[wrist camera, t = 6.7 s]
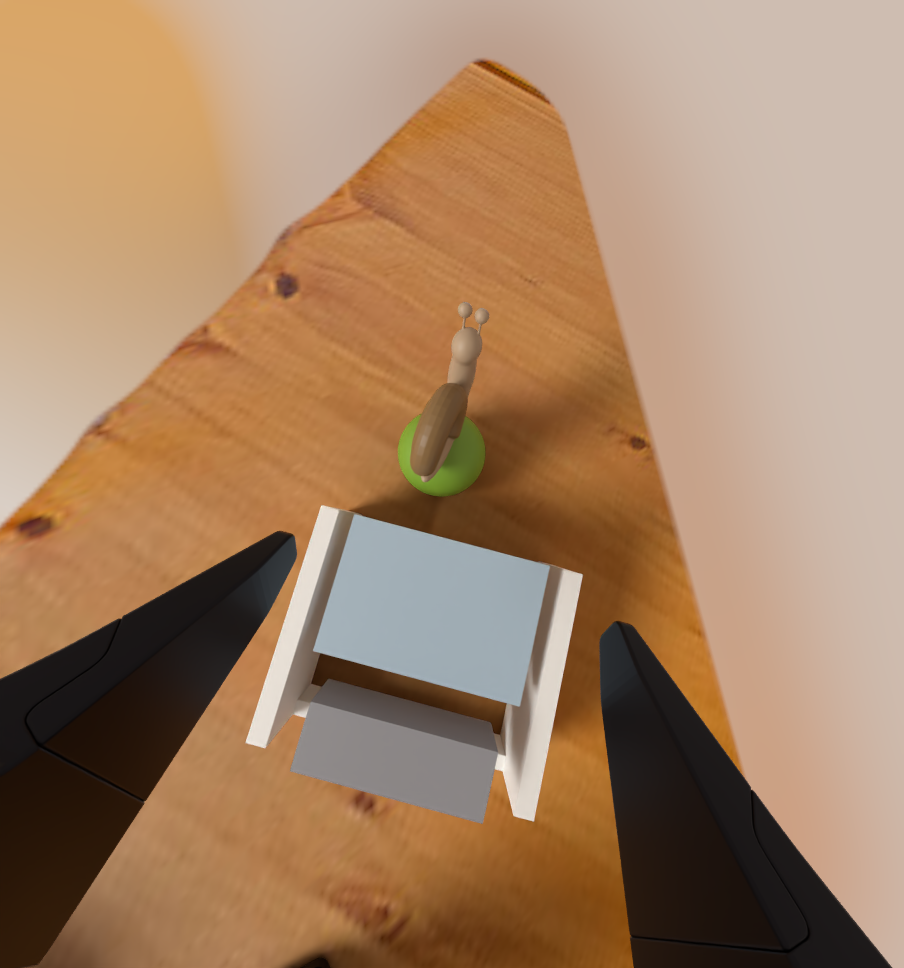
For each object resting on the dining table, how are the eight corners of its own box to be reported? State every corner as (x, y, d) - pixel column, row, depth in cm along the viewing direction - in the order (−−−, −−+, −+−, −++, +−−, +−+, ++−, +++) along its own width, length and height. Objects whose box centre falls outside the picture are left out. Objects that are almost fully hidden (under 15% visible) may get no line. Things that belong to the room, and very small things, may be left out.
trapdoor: (541, 563, 19) (555, 567, 16) (492, 787, 17) (499, 828, 15) (361, 515, 19) (350, 513, 17) (296, 733, 17) (272, 766, 15)
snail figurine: (495, 428, 24) (547, 327, 12) (464, 511, 23) (487, 491, 11) (425, 402, 24) (407, 276, 12) (391, 484, 23) (337, 435, 11)
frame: (552, 564, 23) (582, 574, 18) (512, 752, 21) (533, 821, 16) (347, 510, 23) (321, 505, 18) (292, 692, 21) (245, 742, 16)
